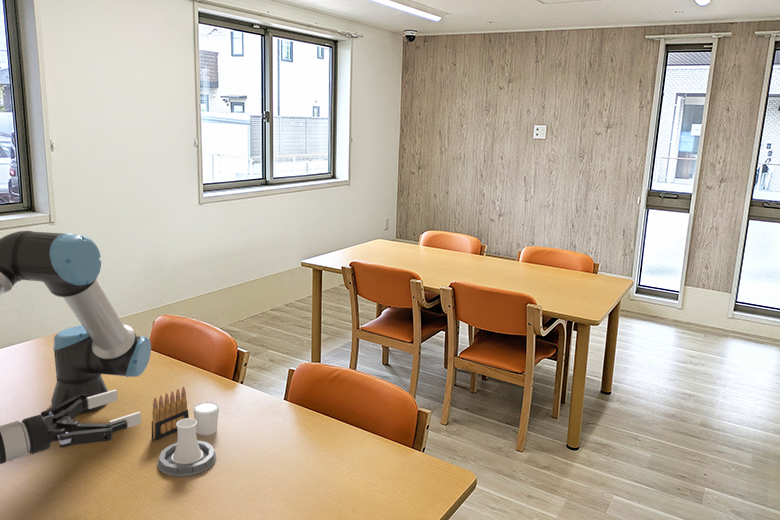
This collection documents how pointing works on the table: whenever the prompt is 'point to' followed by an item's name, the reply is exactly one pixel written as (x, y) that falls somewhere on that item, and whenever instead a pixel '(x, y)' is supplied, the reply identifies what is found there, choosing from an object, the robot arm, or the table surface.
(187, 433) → the vase
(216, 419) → the shot glass
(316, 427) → the table surface
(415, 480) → the table surface
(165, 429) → the ammunition clip
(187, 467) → the socket ring
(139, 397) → the table surface
